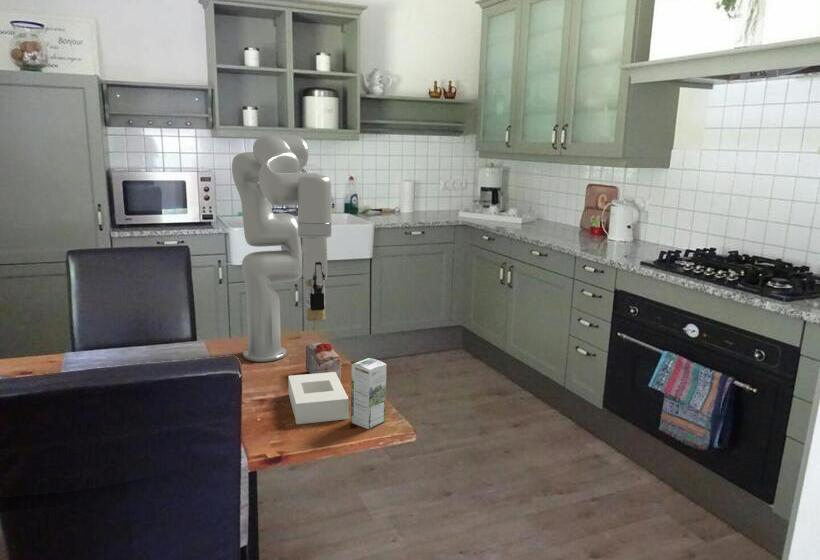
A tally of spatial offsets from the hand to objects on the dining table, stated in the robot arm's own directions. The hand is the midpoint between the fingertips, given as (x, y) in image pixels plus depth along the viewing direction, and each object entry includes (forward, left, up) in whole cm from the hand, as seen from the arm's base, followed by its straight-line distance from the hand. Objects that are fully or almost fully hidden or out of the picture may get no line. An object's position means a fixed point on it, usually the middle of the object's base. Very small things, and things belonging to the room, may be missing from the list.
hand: (315, 306), depth 144 cm
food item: (-18, +4, -25) cm, 32 cm away
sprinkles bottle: (0, 0, -4) cm, 4 cm away
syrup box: (+12, +10, -25) cm, 30 cm away
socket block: (0, 0, -25) cm, 25 cm away
